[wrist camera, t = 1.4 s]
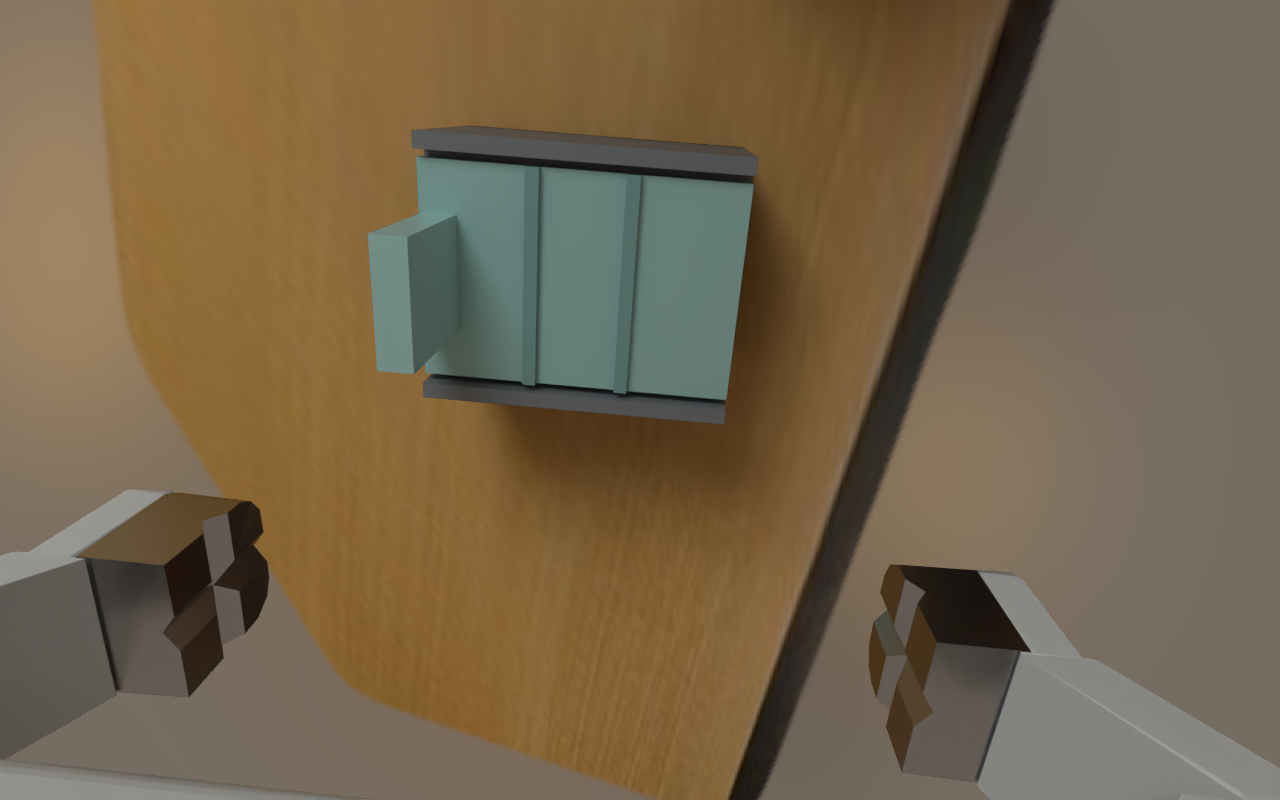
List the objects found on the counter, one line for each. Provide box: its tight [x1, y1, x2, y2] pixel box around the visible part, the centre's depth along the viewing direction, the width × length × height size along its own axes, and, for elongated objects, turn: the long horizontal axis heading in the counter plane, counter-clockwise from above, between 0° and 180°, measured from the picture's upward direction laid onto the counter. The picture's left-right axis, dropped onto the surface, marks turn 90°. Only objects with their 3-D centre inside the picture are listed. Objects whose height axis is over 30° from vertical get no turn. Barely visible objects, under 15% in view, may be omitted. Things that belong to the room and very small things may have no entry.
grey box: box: [412, 126, 758, 424], centre depth 30 cm, size 10×12×7 cm
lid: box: [368, 155, 754, 400], centre depth 25 cm, size 8×12×6 cm
